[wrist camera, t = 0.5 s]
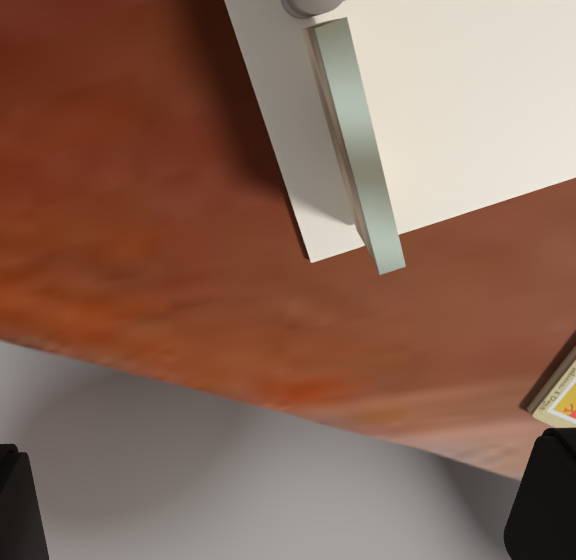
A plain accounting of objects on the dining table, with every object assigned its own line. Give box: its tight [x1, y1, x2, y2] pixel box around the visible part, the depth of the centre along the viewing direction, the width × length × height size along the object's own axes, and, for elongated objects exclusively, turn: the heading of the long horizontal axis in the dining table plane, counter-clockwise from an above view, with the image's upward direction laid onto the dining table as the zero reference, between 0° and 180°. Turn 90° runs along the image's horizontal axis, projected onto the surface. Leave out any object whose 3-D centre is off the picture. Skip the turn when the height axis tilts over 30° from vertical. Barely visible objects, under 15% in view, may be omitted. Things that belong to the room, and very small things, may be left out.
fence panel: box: [301, 17, 406, 275], centre depth 26 cm, size 12×1×7 cm, turn 18°
